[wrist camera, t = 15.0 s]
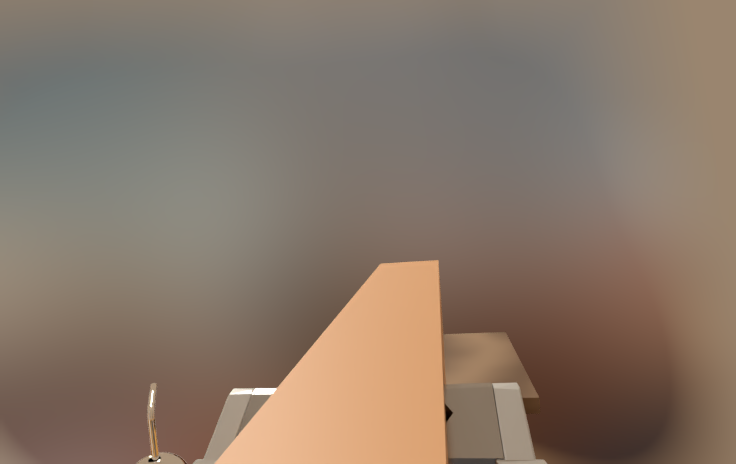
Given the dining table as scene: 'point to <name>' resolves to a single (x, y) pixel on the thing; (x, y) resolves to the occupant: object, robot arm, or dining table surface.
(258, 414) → the orange square bar
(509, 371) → the walnut stand
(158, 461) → the cup with straw
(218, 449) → the robot arm
